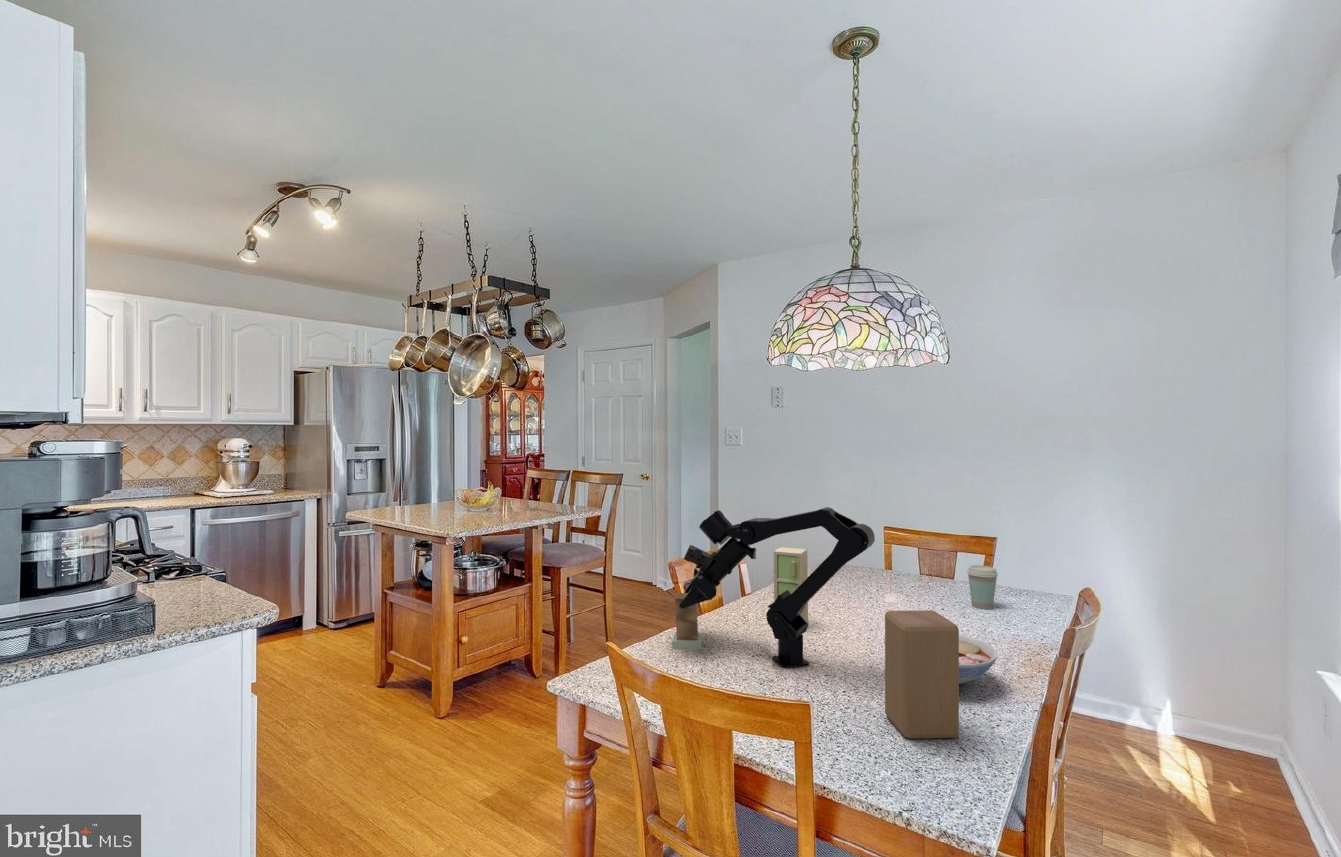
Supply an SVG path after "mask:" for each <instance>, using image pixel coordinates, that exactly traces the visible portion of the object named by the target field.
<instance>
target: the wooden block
mask: <svg viewBox="0 0 1341 857" xmlns="http://www.w3.org/2000/svg"><path fill="white" fill-rule="evenodd" d="M959 634H960V630H959V627H958V625H957V624H955V622H953V621H951V620H949V619H947V618H946V617H944V616H943V615H941V614H940V613H939V612H937V611H935V610H928V609H925V610H888V611H886V612H885V614H884V639H885V643H884V714H885V715H886V717H887V719H889V721H890V722H891V723H892V724H893V725H894V726H895V727H896V729H897V730H898V731H899V732H900V734H902V736H903V738H906V739H950V738H951V739H956V738H958V737H959V735H960V686H959V685H960V684H959Z"/></svg>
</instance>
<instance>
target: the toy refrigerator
mask: <svg viewBox="0 0 1341 857" xmlns="http://www.w3.org/2000/svg"><path fill="white" fill-rule="evenodd" d="M808 566H809V565H808V549H805V548H798V547H797V548H795V547H785V546H784V547H781V546H780V547H778V548H777V549H775V550H773V594H774V595H773V602H774V601H775V600H776V598H777V597H778V596H779V595H780V594H782V593H783V592H785V591H786V590H788V591H789V592H790V594H792V593H793V592H794V591H795V590H796V589H797V588H798V587H799V586H800V585H801V584H802V583H803V582H804V581H805V580H806V579H807V578H808V577H809V576H808V574H809V573H808V571H809V570H808ZM800 615H801V616H802V617H803V619H804V620H805V621H806V622H807V623H808V624H809V601H808V602H807V604H806V606H805V608H804V610H803V611H802V613H801V614H800Z"/></svg>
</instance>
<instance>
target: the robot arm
mask: <svg viewBox="0 0 1341 857" xmlns="http://www.w3.org/2000/svg"><path fill="white" fill-rule="evenodd" d="M818 527H821V528H823V529H825V531H827V533H829V534H830V535H831V536H832V537H834V539H836V540H837V542H836V544H835V546H834V548H833V549H832V551H831V553H830V554H829V555H828V556H827V557H826V558H825V559H824V560H823V561H822V562H821V563H820V565H818V566H817V567H816V569H815V570H814V571H812V572H811V573H810V574H809V576H808V578H807V579H806V580H805V581H804V582H803V583H802V584H801V585H800V586H799V587H798V588H797V589H796V590H795V591H794V592H793V593H792V594H790V592H789V591H788V590H786V591H785V592H783V593H782V594H780V595H779V596H778V597H777V598H776V600H775V601H774V600H773V602H772V603H770V604H768V605H767V608H768V610H767V612H766V615H765V616H766V622H767V624H768V626H769V627H770V628H771V631H772V634H773V636H774V639H775V640H778V641H777V648H778V649H777V654H776V655H773V656H772V659H773V660H774V661H775V662H776V663H778V664H779V665H780V666H781V667H782V668H794V667H804V666H809V665H810V662H809V661H807V659H805V658H804V635H803V634H804V633H806V632H807V630H808V627H809V622H808V623H807V622H806V621H805V620H804V619H803V617H802V616H801V615H800V614H801V613H802V611H803V610H804V608H805V606H806V604H807V602H808V603H809V601H810V600H811V599H812V598H814V596H815V595H816V594H817V593H818V592H819V591H821V589H822V588H823V587H824V586H825V585H826V584H828V582H829V581H830V580H832V578H833V577H834V576H835V575H836V574H837V573H838V572H839V571H840V570H842V568H843V567H844V566H845V565H846V564H847V563H848V562H850V561H852V560H853V559H854V558H856V557H858V556H860V554H862V553H864V552H865V551H867V550H868V549H869V548H870V547H872V546H873V544H874V543H875V540H876V539H875V533H874V530H873V529H872V528H871V526H868V525H867V524H866V523H865V524H864V523H858V522H856V521H855V520H853V519H851V518H849V517H847V516H845V515H843V514H841V513H840V512H837V511H836V510H835V509H833V508H831V507H829V506H826V507H823V508H820V509H816V510H813V511H812V510H811V511H806V512H802V513H797V514H793V515H787V516H783V517H776V518H774V517H773V518H772V517H771V518H770V517H754V518H750V519H748V520H745V521H741V522H740V523H736V524H732V523H731V522H730V521H729V520H728V518H727V517H726V516H725V515H724V513H723V512H722V511H721V510H720V509H719V510H715V511H713V513H712V514H711V515H709V516H708V517H706V519H704V520H703V521H702V522H701V523H700V525H699V527H698V528H699V529H700V530H701V531H702V533H703V534H704V535H705V536H706V537H707V538H708V539H709V540H710V541H711V543H712V544H713V545H716V544H719V545H720V546H721V547H720V548H719V549H718V550H717V551H713V552H712V553H709V552H706V551H705V550H703V549H700V548H699V547H697V546H694V545H693V544H692V545H691V544H690V545H689V546H688V549H687V551H686V553H685V554H684V556H683V559H684V560H685V561H687V562H690V563H691V564H694V565H695V567H694V569H693V578H691V581H690V583H689V584H688V586H687V587H686V589H685V591H684V592H683V593H688V594H687V595H686V596H685V598H684V599H683V601H682V602H681V603H680V605H679V606H680V607H681V608H682V609H683V608H686V607H689V606H692V605H694V604H697V605H698V604H700V603H703V602H708V601H712V600H713V599H714V598H715V597H716V596H717V594H718V593H717V592H718V591H717V590H718V588H717V587H719V585H721V581H722V580H724V578H726V577H727V575H728V576H730V575H731V574H732V573H733V570H734V569H735V568H736V567H737V566H738V565H739V564H740V563H741V562H742V561H743V560H744V559H745V558H746V557H747V556H748V557H749V558H750V559H751V560H756V559H757V555H756V552H757V548H756V547H751V546H752V545H755V544H757V543H760V542H761V541H765V540H767V539H770V538H772V537H775V536H777V535H783V534H787V533H792V532H798V531H803V530H808V529H813V528H818Z"/></svg>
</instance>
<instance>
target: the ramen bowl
mask: <svg viewBox="0 0 1341 857" xmlns="http://www.w3.org/2000/svg"><path fill="white" fill-rule="evenodd" d="M883 643H884V644H885V638H884V640H883ZM998 657H999V656H998V653H997V649H995V647H993V646H991V645H990V644H988V643H987V642H985V641H982V640H980V639H977V638H975V637H972V636H969V635H964V634H961V633H959V685H960V684H965V683H969V682H973V681H975V680H978V679H979V678H981V677H982V676H983V675H984V674H986V673H987V672H988V671H990V668H991V667H992V666H993V665H994V664H995V662H996V661H997V658H998Z"/></svg>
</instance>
